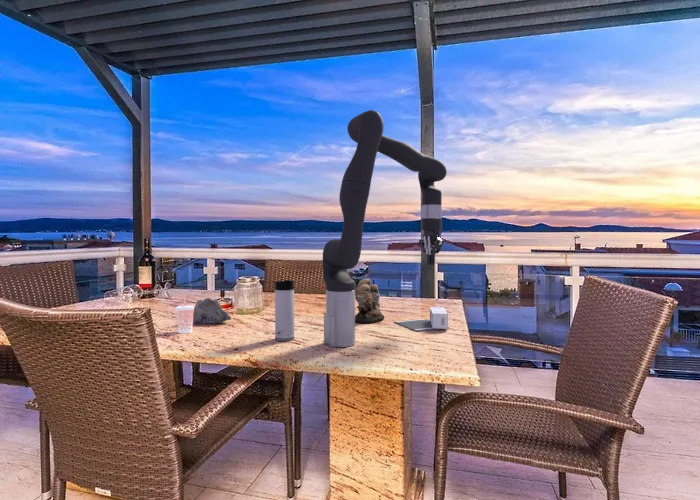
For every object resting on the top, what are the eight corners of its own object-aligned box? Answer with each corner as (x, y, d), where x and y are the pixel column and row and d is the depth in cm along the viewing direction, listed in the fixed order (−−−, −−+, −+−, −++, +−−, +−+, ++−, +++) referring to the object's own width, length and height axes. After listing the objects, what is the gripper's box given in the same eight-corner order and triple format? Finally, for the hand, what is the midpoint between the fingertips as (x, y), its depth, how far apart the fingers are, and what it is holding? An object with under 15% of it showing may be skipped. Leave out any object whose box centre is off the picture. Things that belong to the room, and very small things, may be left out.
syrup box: (448, 313, 148) (444, 307, 163) (431, 313, 149) (429, 306, 164) (447, 329, 149) (444, 321, 163) (431, 328, 149) (429, 320, 164)
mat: (416, 331, 147) (416, 330, 147) (394, 322, 162) (394, 321, 162) (448, 328, 153) (448, 326, 153) (424, 319, 167) (424, 318, 167)
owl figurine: (375, 325, 157) (375, 281, 156) (347, 323, 161) (346, 280, 160) (388, 316, 174) (388, 276, 173) (362, 314, 178) (361, 275, 177)
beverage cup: (197, 331, 147) (197, 292, 146) (180, 334, 142) (180, 294, 142) (189, 328, 151) (189, 290, 150) (173, 331, 146) (172, 292, 146)
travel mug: (278, 342, 132) (278, 280, 131) (272, 338, 138) (272, 278, 137) (297, 340, 135) (297, 279, 134) (290, 336, 141) (290, 277, 140)
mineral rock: (232, 323, 160) (232, 298, 160) (208, 328, 152) (208, 301, 151) (212, 319, 168) (212, 294, 167) (188, 323, 159) (188, 298, 159)
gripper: (412, 218, 155) (412, 264, 155) (433, 216, 143) (432, 266, 143) (429, 218, 158) (429, 263, 158) (451, 217, 146) (450, 266, 146)
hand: (430, 265), depth 151 cm, fingers closed
